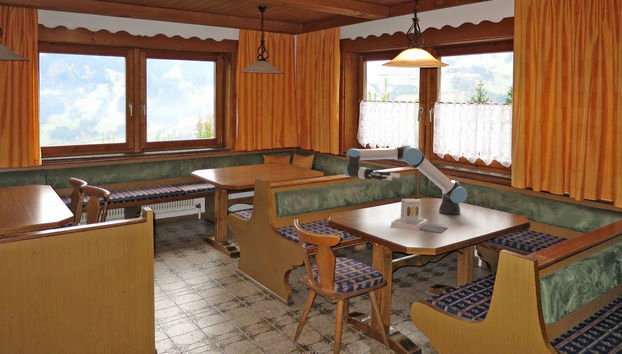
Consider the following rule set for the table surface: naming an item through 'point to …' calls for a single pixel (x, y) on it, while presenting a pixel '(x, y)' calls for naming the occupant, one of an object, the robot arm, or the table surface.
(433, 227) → the charcoal mat
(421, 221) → the beige square tray
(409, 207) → the supplement box
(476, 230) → the table surface
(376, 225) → the table surface
